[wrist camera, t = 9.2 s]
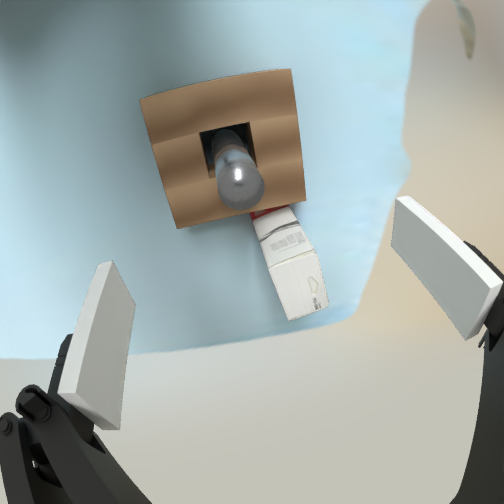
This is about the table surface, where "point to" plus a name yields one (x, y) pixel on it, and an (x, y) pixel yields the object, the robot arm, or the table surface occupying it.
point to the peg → (235, 172)
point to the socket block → (221, 115)
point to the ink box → (290, 261)
